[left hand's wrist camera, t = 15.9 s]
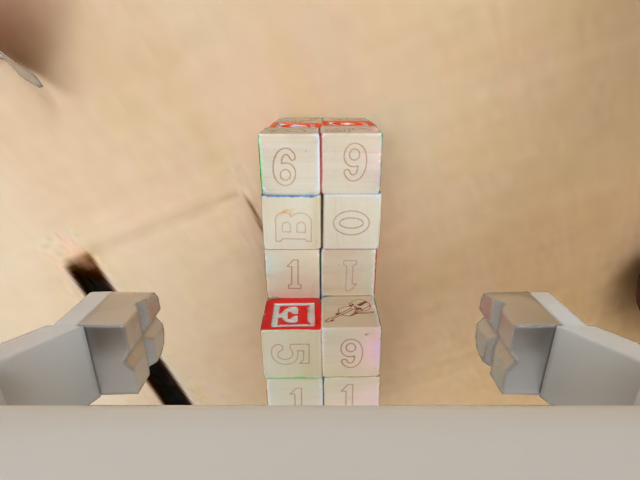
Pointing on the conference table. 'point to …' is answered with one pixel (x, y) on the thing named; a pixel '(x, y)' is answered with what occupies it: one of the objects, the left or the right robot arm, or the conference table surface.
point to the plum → (638, 292)
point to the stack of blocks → (321, 260)
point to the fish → (22, 71)
